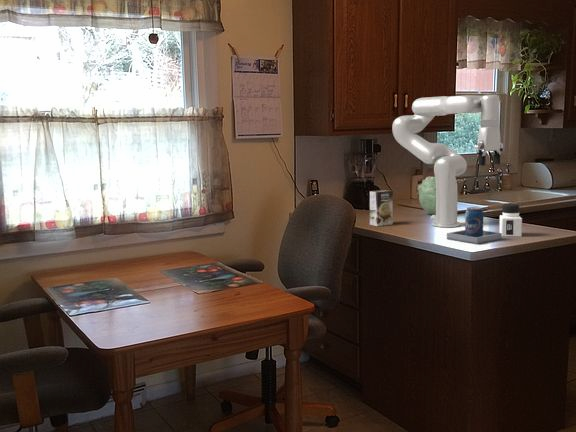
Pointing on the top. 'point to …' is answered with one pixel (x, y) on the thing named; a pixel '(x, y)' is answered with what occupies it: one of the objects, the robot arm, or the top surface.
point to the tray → (485, 238)
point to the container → (510, 220)
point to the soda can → (474, 222)
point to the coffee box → (381, 208)
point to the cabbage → (428, 195)
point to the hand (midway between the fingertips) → (489, 164)
